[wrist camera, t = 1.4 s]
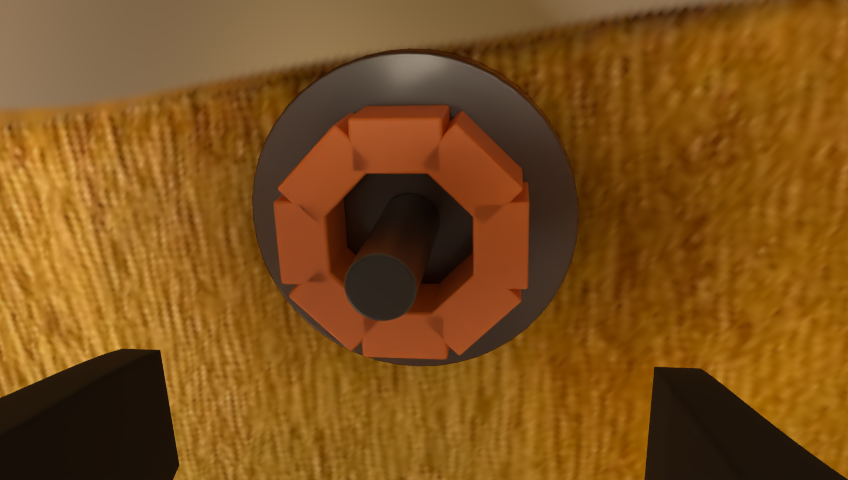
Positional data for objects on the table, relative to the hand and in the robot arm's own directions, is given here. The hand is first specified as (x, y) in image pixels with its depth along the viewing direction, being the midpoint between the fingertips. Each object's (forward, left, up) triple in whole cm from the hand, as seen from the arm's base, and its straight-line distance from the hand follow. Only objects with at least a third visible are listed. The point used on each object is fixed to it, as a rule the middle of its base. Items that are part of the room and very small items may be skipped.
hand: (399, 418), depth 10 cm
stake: (0, +1, -8) cm, 8 cm away
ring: (0, +1, -8) cm, 8 cm away
